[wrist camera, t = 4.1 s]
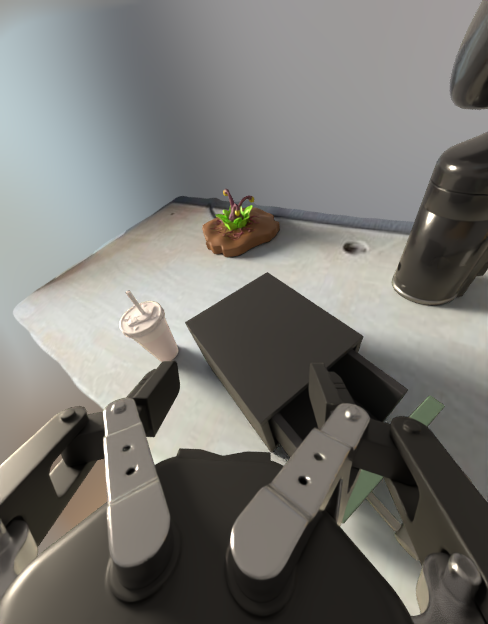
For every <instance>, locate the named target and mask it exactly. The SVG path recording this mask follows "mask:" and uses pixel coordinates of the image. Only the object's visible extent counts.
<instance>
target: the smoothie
mask: <svg viewBox="0 0 488 624" xmlns="http://www.w3.org/2000/svg"><path fill="white" fill-rule="evenodd" d="M126 294H127V295H128V297H129V298H130V299H131V301H132V302H133V303H134V305H135V306H133V307H131V308H130V309H129V310H128V311H127V312H125V314H124V315H123V316H122V318H121V320H120V324H119V327H120V330H121V331H122V332H123V334H124V335H125V336H126V337H129V338H132V339H134V340H135V341H136V342H137V343H139V344H140V345H141V346H142V347H144V348H145V349H146V350H147V351H148V352H150V353H151V354H152V355H153V356H155V357H156V358H157V359H158V360H159V361H161V362H163V361H171V360H173V359H174V358H175V357H176V356H177V354H178V347H177V344H176V342H175V340H174V337H173V335H172V333H171V331H170V328H169V326H168V324H167V321H166V319H165V317H164V316H165V312H164V310H163V308H162V307H161V305H160V304H159V303H157V302H154V301H146V302H142V303H138V302H137V300H136V299H135V297H134V296H133V295H132V293H131V292H130V291H127V292H126Z"/></svg>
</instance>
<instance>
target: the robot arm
mask: <svg viewBox="0 0 488 624" xmlns="http://www.w3.org/2000/svg"><path fill="white" fill-rule="evenodd" d="M450 96H451V99H452V101H453V103H454V104H455V105H456V106H458V107H460V108H463V109H488V0H483V1H482V2H481V4H480V6H479V8H478V10H477V12H476V14H475V16H474V18H473V20H472V22H471V24H470V26H469V28H468V30H467V32H466V34H465V37H464V39H463V41H462V44H461V46H460V49H459V51H458V54H457V56H456V59H455V62H454V66H453V69H452V74H451V79H450ZM487 269H488V132H486V133H483V134H482V135H479V136H477V137H474V138H472V139H469V140H466V141H464V142H461V143H459V144H456V145H454V146H452V147H451V148H449V149H448V150H446V151H445V152H444V153H443V154H442V155H441V156H440V158H439V159H438V161H437V163H436V166H435V168H434V171H433V174H432V176H431V179H430V181H429V184H428V187H427V189H426V192H425V195H424V198H423V200H422V203H421V206H420V208H419V211H418V214H417V217H416V219H415V222H414V224H413V227H412V230H411V232H410V235H409V238H408V240H407V243H406V246H405V248H404V251H403V254H402V256H401V259H400V262H399V264H398V267H397V270H396V272H395V274H394V276H393V279H392V286H393V288H394V290H395V291H396V292H397V293H398V294H399V295H401V296H402V297H404V298H405V299H407V300H410V301H412V302H415V303H419V304H425V305H441V304H445V303H448V302H450V301H452V300H453V299H454V298H455V297H458V296H463V294H464V293H465V292H466V290H467V289H468V287H469V286H470V284H471V283H472V282H473V280H474V279H475V277H476V276H483V275H484V273H485V272H486V271H487ZM179 390H180V380H179V373H178V366H177V362H176V361H163V362H162V363H161V364H160V365H159V367H158V368H157V369H153V370H152V371H150V372H149V373H147V374H146V375H145V376H144V377H143V379H142V380H141V381H140V382H139V383H138V385H137V386H136V387H135V388H134V389H133V390H132V391H131V392H130V394H129V395H128V396H127V397H126V398H122V399H118V400H116V401H114V402H112V403H110V404H109V405H108V406H106V408H105V409H104V411H103V412H99V413H93V414H88V415H87V412H86V409H85V408H84V407H81V406H77V407H71V408H68V409H66V410H64V411H62V412H60V413H58V414H57V415H55V416H54V417H53V418H52V419H51V420H50V421H49V422H48V423H46V424H45V425H44V426H43V427H42V428H41V429H40V430H39V431H38V432H37V433H36V434H34V436H32V437H31V438H30V439H29V440H28V441H27V442H26V443H24V444H23V445H22V446H21V447H20V448H19V449H18V450H17V451H16V452H15V453H14V454H12V455H11V456H10V457H9V458H8V459H7V460H6V461H5V462H4V463H3V464H1V466H0V624H488V503H487V502H486V500H485V499H484V498H483V496H482V495H481V494H480V493H479V491H478V490H477V489H476V488H475V486H474V485H473V484H472V482H471V481H470V480H469V479H468V477H467V476H466V475H465V474H464V472H463V471H462V470H461V468H460V467H459V466H458V465H457V463H456V462H455V461H454V460H453V458H452V457H451V456H450V454H449V453H448V452H447V451H446V449H445V448H444V447H443V446H442V444H441V443H440V442H439V440H438V439H437V438H436V437H435V435H434V434H433V433H432V431H431V430H430V429H429V428H428V427H427V426H426V425H424V424H423V423H421V422H420V421H418V420H415V419H413V418H410V417H404V416H398V417H395V418H393V419H392V422H391V424H388V423H384V422H380V421H377V420H374V419H371V418H370V417H369V415H368V413H367V412H366V411H365V410H364V409H363V408H361V407H359V406H357V405H356V404H355V402H354V401H353V399H352V397H351V395H350V393H349V392H348V390H347V388H346V386H345V384H344V382H343V381H342V379H341V377H340V376H339V375H337V374H336V373H335V372H328V371H327V368H326V366H325V364H324V363H310V370H309V397H310V400H311V404H312V407H313V411H314V414H315V418H316V421H317V425H318V428H319V429H317V428H313V429H312V430H311V432H310V433H309V434H308V436H307V437H306V438H305V439H304V441H303V442H302V443H301V445H300V446H299V447H298V449H297V450H296V451H295V452H294V454H293V455H292V456H291V458H290V459H289V460H288V461H287V463H286V464H285V465H284V466H283V465H281V464H279V463H276V462H274V461H271V457H270V452H248V451H247V452H242V453H237V454H231V455H226V456H222V455H218V454H215V453H211V452H208V451H205V450H201V449H180V448H179V451H178V453H177V456H176V457H172V458H169V459H166V460H164V461H161V462H160V463H158V464H156V465H154V462H153V458H152V455H151V452H150V448H149V445H148V441H147V438H146V437H155V435H156V433H157V432H158V430H159V428H160V426H161V424H162V422H163V421H164V419H165V417H166V415H167V413H168V412H169V410H170V408H171V406H172V404H173V403H174V401H175V399H176V397H177V395H178V393H179ZM60 454H61V455H62V458H63V459H62V460H61V461H60V462H59V464H58V465H57V466H56V467H55V468H54V470H53V471H52V472H51V473H50V474H49V472H50V468H51V466H52V464H53V462H54V461H55V460H56V458H57V457H58V456H59V455H60ZM104 458H105V472H106V484H107V485H106V486H107V500H108V501H107V502H106V503H105V504H104V505H102V506H101V507H100V508H98V509H97V510H96V511H95V512H93V513H92V514H91V515H89V516H88V517H87V518H86V519H84V520H83V521H82V522H81V523H79V524H78V525H77V526H75V527H74V528H73V529H71V530H70V531H69V532H67V533H66V534H65V535H64V536H62V537H61V538H60V539H59V540H57V541H56V542H55V543H53V544H52V545H51V546H49V547H48V548H47V549H46V550H44V551H43V552H42V553H41V554H39V555H38V546H39V545H40V543H41V542H42V540H43V539H44V537H45V536H46V534H47V533H48V531H49V530H50V529H51V527H52V526H53V524H54V523H55V521H56V520H57V518H58V517H59V515H60V514H61V513H62V511H63V510H64V508H65V507H66V505H67V504H68V502H69V501H70V499H71V498H72V496H73V495H74V493H75V492H76V491H77V489H78V487H79V486H80V485H81V483H82V482H83V480H84V479H85V478H86V476H87V475H88V473H89V472H90V470H91V469H92V467H93V466H94V464H95V463H96V461H97V460H100V459H104ZM361 470H365V471H368V472H371V473H374V474H377V475H380V476H383V477H384V480H385V482H386V484H387V487H388V489H389V491H390V494H391V496H392V498H393V500H394V503H395V505H396V507H397V510H398V512H399V514H400V517H401V519H402V521H403V523H404V526H405V528H406V530H407V533H408V535H409V537H410V540H411V542H412V544H413V546H414V549H415V551H416V553H417V556H418V558H419V560H420V563H421V565H422V569H421V572H420V575H419V578H418V582H417V585H416V597H417V601H418V605H419V609H420V615H417V616H410V614H409V612H408V610H407V609H406V607H405V605H404V604H403V602H402V601H401V599H400V598H399V596H398V595H397V593H396V592H395V591H394V589H393V588H392V587H391V586H390V584H389V583H388V582H387V581H386V580H385V579H384V577H383V576H382V575H381V574H380V573H379V572H378V570H377V569H376V568H375V567H374V566H373V565H372V563H371V562H370V561H369V560H368V559H367V558H366V557H365V555H364V554H363V553H362V552H361V551H360V550H359V548H358V547H357V546H356V545H355V544H354V543H353V541H352V540H351V539H350V538H349V537H348V536H347V534H346V533H345V532H344V531H343V530H342V529H341V527H340V526H341V523H342V520H343V517H344V513H345V509H346V506H347V503H348V500H349V498H350V496H351V493H352V491H353V489H354V487H355V484H356V482H357V480H358V477H359V475H360V473H361ZM37 555H38V556H37Z"/></svg>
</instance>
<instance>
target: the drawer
mask: <svg viewBox="0 0 488 624" xmlns="http://www.w3.org/2000/svg"><path fill="white" fill-rule="evenodd" d="M327 371H328V372H335V373H336V374H337V375H339V376H340V377H341V379H342V381H343V382H344V384H345V386H346V388H347V390H348V392H349V393H350V395H351V397H352V399H353V401H354V402H355V404H356V405H357V406H359V407H361V408H363V409H364V410H365V411H366V412H367V413H368V415H369V417H370V418H371V419H374V420H377V421H380V422H384V421H385V419H386V418H387V417H388V415H389V414H390V413H391V412H392V410H393V409H394V408H395V407H396V405H397V404H398V403H399V402H400V400H401V399H402V398H403V396H404V395H405V394H406V393H407V391H408V389H406V388H405V387H404V386H402V385H401V384H400V383H398V382H397V381H396V380H394V379H393V378H391V377H390V376H389V375H387V374H386V373H385V372H383V371H382V370H380V369H379V368H378V367H376V366H375V365H374V364H372V363H371V362H369V361H368V360H367V359H365V358H364V357H363V356H361V355H360V354H358V353H357V352H356V351H354V350H353V349H352V350H351V351H349V352H348V353H347V354H346V355H345V356H344V357H342V358H341V359H340V360H339V361H338V362H336V363H335V364H334V365H333V366H332V367H331V368H329V369H328V370H327ZM444 407H445V406H444V405H443V404H442V403H440V402H439V401H437V400H436V399H435V398H433V397H432V396H428V397H427V398H426V399H425V401H424V402H423V403H422V404H421V405H420V406H419V407H418V408H417V409H416V410H415V411H414V412H413V413H412V414H411V415H410V416H409V417H410V418H413V419H415V420H418V421H420V422H421V423H423V424H424V425H426V426H427V427H428V425H429V424H430V423H431V422H432V421H433V420H434V418H435V417H436V416H437V415H438V414H439V413H440V412H441V410H442V409H443V408H444ZM268 423H269V426H270V430H271V433H272V434H273V435H274V437H275V438H276V439H277V441H278V442H279V443H280V445H281V446H282V447H283V449H284V450H285V451H286V453H287V454H288V455H289V457H290V458H291V456H292V455H293V454H294V452H295V451H296V450H297V449H298V447H299V446H300V445H301V443H302V442H303V441H304V439H305V438H306V437H307V436H308V434H309V433H310V432H311V430H312V429H313V428H317V429H319V428H318V425H317V421H316V418H315V414H314V411H313V407H312V404H311V400H310V397H309V386H308V387H307V388H306V389H305V390H304V391H302V392H301V393H300V394H299V395H298V396H297V397H295V398H294V399H293V400H292V401H291V402H290V403H288V404H287V405H286V406H285V407H284V408H282V409H281V410H280V411H279V412H278V413H277V414H275V415H274V416H273V417H272V418H271V419H270V420H268ZM464 474H465V473H464ZM465 475H466V474H465ZM466 476H467V475H466ZM467 477H468V476H467ZM383 478H384V477H383V476H380V475H377V474H374V473H371V472H368V471H365V470H361V473H360V475H359V477H358V480H357V482H356V484H355V487H354V489H353V491H352V493H351V496H350V498H349V500H348V503H347V506H346V509H345V513H344V517H343V520H342V523H345V522H346V520H347V519H348V518H349V517H350V516H351V515H352V513H353V512H354V511H355V510H356V509H357V508H358V507H359V505H360V504H361V503H362V502H363V501H364V500H365V498H366V499H367V500H368V502H369V503H370V504H371V505H372V506H373V507H374V508H375V510H376V511H377V512H378V513H379V514H380V515H381V516H382V518H383V519H384V520H385V521H386V522H387V523H388V525H389V526H390V527H391V528H392V529H393V530H394V531H395V532H396V533H395V534H394V536H395V538H396V539H397V541H398V542H399V543H400V545H401V546H402V547H403V548H404V549H405V550H406V551H407V552H408V553H409V554H410V555H411V556H412V557H413V558H414V559H415V560H417V561H418V560H419V558H418V556H417V553H416V551H415V549H414V546H413V544H412V542H411V540H410V537H409V535H408V533H407V530H406V528H405V526H404V523H403V524H402V525H401V524H400V523H399V522H398V521H397V519H396V518H395V517H394V516H393V515H392V514H391V513H390V512H389V511H388V509H387V508H386V507H385V506H384V505H383V504H382V503H381V502H380V501H379V499H378V498H377V497H376V496H375V495H374V494H373V493H372V492H371V491H372V490H373V489H374V488H375V487H376V486H377V485H378V483H379V482H380V481H381V480H382V479H383ZM468 479H469V480H470V478H469V477H468ZM470 481H471V480H470ZM471 482H472V481H471Z"/></svg>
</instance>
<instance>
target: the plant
mask: <svg viewBox="0 0 488 624" xmlns="http://www.w3.org/2000/svg"><path fill="white" fill-rule="evenodd" d="M223 194H224V195H225V196H229V199H230V205H231V206H230V208H229V211H227V210H223V213H224V214H216V218H215V219H213V220H211V221H209V222H207V223H206V224H204V225H203V228H202V229H203V233H204V236H205V239H206V241H207V242H206V245H207V248H208V249H209V250H212V251H213V253H214V254H220V253H223V254H224V256H225V257H232V256H238V255H241V254H243V253H245V252H246V251H248V250H249V249H251V248H253V247H255V246H258V245H260V244H262V243H265V242H269V241H271V239H272V238H274V237H275V236H276V234H277V232H278V231H279V230H280V227H279V222H277V221H275V220H274V216H273V215H272V214H269V213H266V212H264V211H263V210H261V209H258V208H252V205H251V206H248V207H247V208H242V207H241V205H242V203H243V202H244V201H245V200H246V199H249V201H250V202H254V197H252V196H246V197H244V198H243V199H242V200H241V201H240V203H239V205H237V204H234V201H233V198H232V196H231V195H230V193H229V190H228V189H225V190H224V191H223Z"/></svg>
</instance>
